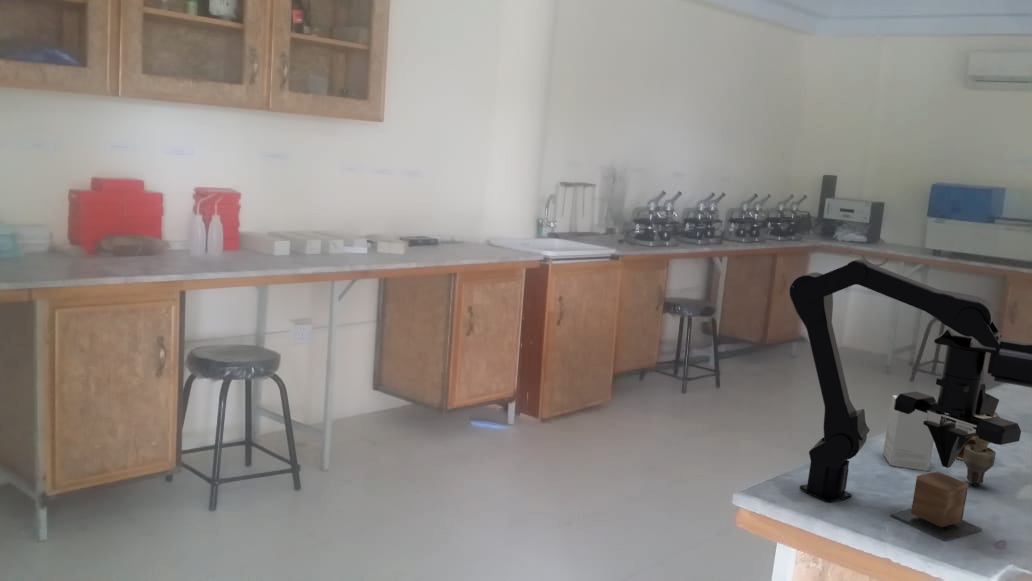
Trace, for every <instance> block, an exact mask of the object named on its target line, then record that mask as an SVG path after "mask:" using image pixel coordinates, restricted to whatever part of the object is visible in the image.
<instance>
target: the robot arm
mask: <svg viewBox="0 0 1032 581" xmlns="http://www.w3.org/2000/svg"><path fill="white" fill-rule="evenodd" d="M855 285H858V286H861V287H863V288H867V289H869V290H872V291H874V292H876V293H877V294H881V295H883V296H886V297H888V298H891V299H893V300H896V301H899V302H901V303H903V304H906V305H909V306H911V307H914V308H916V309H918V310H921V311H924V312H925V313H927V314H928V315H931V316H932V317H933V318H934V319H936V320H938V321H939V322H940V323H941V324H943V325H944V326H946V327H947V329H946V330H945V331H944V332H942V333H941V334H940V335H937V336H936V338H935V339H934V340H933V341H934V342H933V343H935V344H936V345H941V346H942V345H943V346H946V349H945V356H944V362H943V367H942V368H943V369H942V374H941V377H937V378H936V379H935V380H936V382H935V385H937V386H939V391H938V397H937V401H936V399H935V397H934V396H932V395H928V394H926V393H922V392H919V391H909V392H903V393H899V394H898V395H896V396H897V398H896V399H895V404H894V410H897V411H900V412H903V413H906V414H911V413H912V412H914V411H915V409H916V410H919V411H922V412H925V413H928V415H927V421H924V422H923V424H924V425H926V426H927V427H928V428H929V431H930V433H931V435H932V438H933V440H934V445H935V447H936V451H937V454H938V456H939V460H940V463H941V466H942V467H943V468H946V469H948V468H951V467H952V465H953V464H954V462H955V461H956V459H957V456H958V454H959V453H960V451H961V450H962V448H963V447H964V445H965V444H966V443H967V442H968V440H969V439H970V438H972V437H973V436H978V437H979V439H982V440H985V441H988V442H991V443H990V444H994V445H999V446H1002V445H1006V444H1007V445H1008V444H1011V443H1017V442H1020V438H1021V434H1022V430H1021V428H1020V426H1019V423H1018V422H1014V421H1011V420H1008V419H1004V418H1001V417H1000V416H999V417H1000V418H999V417H993V416H994V413H995V412H996V410H997V407H998V405H999V403H1000V399H999V398H997V397H995V396H994V395H991V394H989V393H987V392H986V388H987V387H986V383H985V382H982V380H983V374H984V373H983V372H984V367H985V361H986V356H987V353H989V354H990V355H989V360H988V368H987V374H989V375H991V377H993V378H994V379H993V381H994V382H999V383H1002V384H1003V383H1004V384H1010V385H1014V386H1021V387H1026V388H1031V389H1032V342H1027V343H1026V342H1019V341H1014V340H1013V341H1012V340H1007V339H1003V335H1002V334H1001V331H999V329H998V327H997V326H996V324H995V322H994V321H993V318H994V310H993V308H992V305H991V304H990V302H989V301H987V300H986V299H984V298H983V297H981V296H975V295H971V294H967V293H961V292H956V291H951V290H950V291H949V290H943V289H938V288H935V287H933V286H930V285H927V284H925V283H923V282H919V281H917V280H915V279H912V278H909V277H907V276H904V275H902V274H899V273H896V272H894V271H892V270H891V271H890V270H888V269H886V268H883V267H880V266H878V265H875V264H873V263H871V262H870V261H868V260H866V259H863V258H858V259H854V260H851V261H850V262H848V263H847V264H846V265H844V266H841V267H838V268H835V269H833V270H830V271H828V272H825V273H820V272H817V271H816V272H810V273H807V274H804V275H802V276H799V277H796V279H795V280H793V282H792V283H791V285H790V287H789V297H790V301H791V302H792V305H793V308H794V309H795V312H796V314H797V315H798V317H799V319H800V320H801V322H802V323H803V326H804V327H805V329H806V331H807V336H808V339H809V344H810V350H811V353H812V357H813V362H814V365H815V369H816V370H815V371H816V375H817V380H818V383H819V387H820V391H821V396H822V400H823V405H824V413H823V414H824V417H823V437H821V438H820V439H819V440H818V442H816V444H814V446H813V447H812V448H811V449H810V450H809V452H808V454H809V457H810V464H809V472H808V478H807V483H806V484H801V485H799V490H801V491H804V492H806V494H807V493H808V494H809V495H812V496H814V497H815V498H818V499H820V500H822V501H825V502H826V503H827V502H828V503H831V502H836V501H841V500H844V499H850V498H852V496H853V494H852V493H850V492H847V491H845V490H846V489H847V487H846V486H847V483H848V482H847V481H848V475H849V469H850V468H849V464H850V459H853V458H854V457H856V456H857V454H858V453H859V451H860V450H861V449H862V448H863V447H864V445H865V444H866V442H867V435H868V434H869V432H870V431H871V430H870V428H869V427H868V426H867V422H866V412H865V409H863V408H861V409H858V410H856V408H855V407H854V405H853V403H852V401H851V399H850V395H849V392H848V391H849V390H848V386H847V383H846V378H845V374H844V370H843V365H842V360H841V356H840V353H839V347H838V343H837V340H836V334H835V331H834V326H833V310H834V309H833V308H834V299H833V298H834V294H835V293H837V292H840V291H842V290H844V289H847V288H850V287H852V286H855ZM952 330H953V331H954V332H956V333H958V334H960V335H958V334H954V333H953V331H952ZM973 338H974V339H975V340H976V341H977V342H978V343H976V342H973V340H974V339H973ZM948 414H950V415H948ZM984 414H986V416H989V417H993V418H987V419H981V418H978V417H975V415H984ZM960 417H961V418H963V419H965V420H963V419H960Z"/></svg>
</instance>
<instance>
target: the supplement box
mask: <svg viewBox="0 0 1032 581" xmlns="http://www.w3.org/2000/svg"><path fill="white" fill-rule="evenodd" d="M897 396H898V395H895V394H892V397H891V401H890V406H889V407H890V408H889V413H888V420H887V426H886V431H885V432H886V433H885V437H884V438H885V439H884V440H885V441H884V445H883V451H882V455H884V457H885V460H886V461H887V462H888V464H889V465H890V466H892V467H897V468H905V469H911V470H918V471H927V472H928V471H929V470H930V465H931V460H932V454H933V447H934V444H935V442H934V440H933V438H932V435H931V433H930V431H929V428H928V427H927V426H926V425H924V424H923V422H924V421H927V415H928V413H925V412H922V411H919V410H916V409H915V411H914V412H912V413H911V414H906V413H903V412H900V411H897V410H894V404H895V399H896V398H897Z"/></svg>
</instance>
